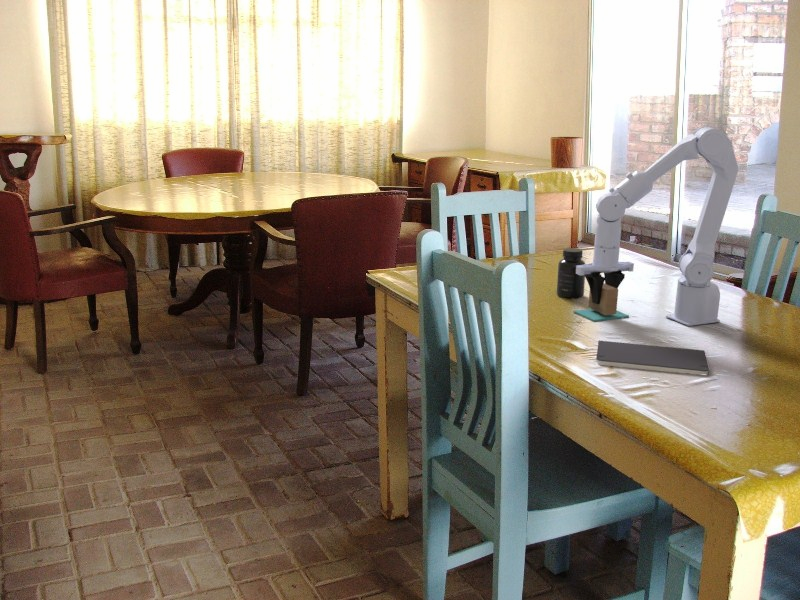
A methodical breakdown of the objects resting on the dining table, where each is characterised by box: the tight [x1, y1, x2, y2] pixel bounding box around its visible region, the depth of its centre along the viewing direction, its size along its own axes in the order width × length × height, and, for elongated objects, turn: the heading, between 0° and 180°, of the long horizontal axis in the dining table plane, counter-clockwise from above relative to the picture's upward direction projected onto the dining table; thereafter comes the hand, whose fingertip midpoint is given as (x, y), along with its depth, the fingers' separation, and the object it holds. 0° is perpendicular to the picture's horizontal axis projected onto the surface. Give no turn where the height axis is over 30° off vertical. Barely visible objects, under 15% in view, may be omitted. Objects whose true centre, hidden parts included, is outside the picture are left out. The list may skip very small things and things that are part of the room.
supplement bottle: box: [556, 247, 586, 300], centre depth 218 cm, size 7×7×12 cm
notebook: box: [595, 340, 710, 375], centre depth 173 cm, size 13×2×21 cm
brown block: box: [587, 282, 619, 315], centre depth 202 cm, size 7×3×6 cm, turn 21°
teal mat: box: [573, 308, 630, 322], centre depth 203 cm, size 10×8×1 cm
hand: (602, 302), depth 203 cm, fingers closed on brown block, 3 cm apart
